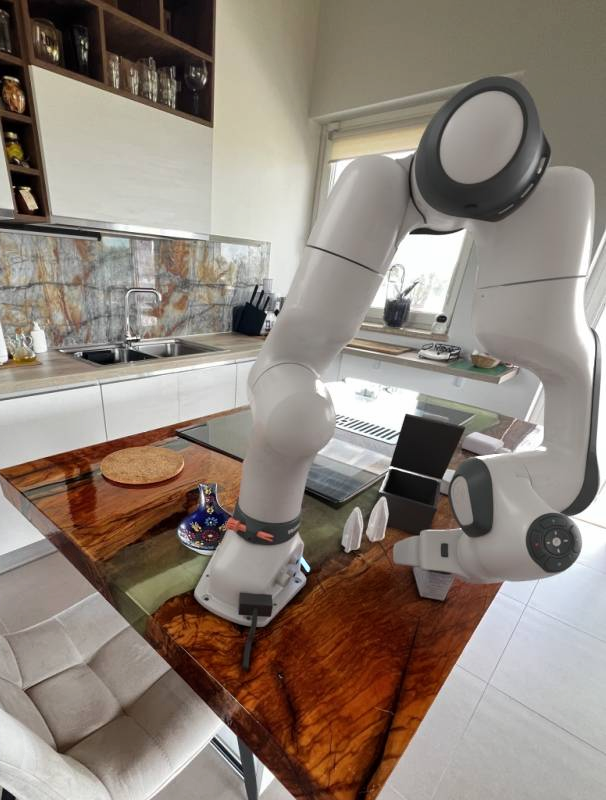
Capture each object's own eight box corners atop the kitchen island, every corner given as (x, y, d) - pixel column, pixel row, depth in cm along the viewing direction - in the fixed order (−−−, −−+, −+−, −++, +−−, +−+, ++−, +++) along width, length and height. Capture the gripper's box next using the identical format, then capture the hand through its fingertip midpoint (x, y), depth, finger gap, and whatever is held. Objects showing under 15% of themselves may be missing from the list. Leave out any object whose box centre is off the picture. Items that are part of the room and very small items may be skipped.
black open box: (425, 537, 94) (437, 508, 90) (370, 519, 99) (378, 491, 95) (430, 506, 106) (441, 480, 102) (381, 492, 111) (389, 466, 107)
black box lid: (465, 428, 89) (468, 416, 92) (405, 415, 94) (409, 403, 96) (441, 480, 102) (445, 467, 104) (389, 465, 106) (394, 454, 109)
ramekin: (434, 494, 112) (440, 480, 110) (429, 479, 120) (434, 466, 118) (469, 500, 111) (475, 486, 109) (461, 485, 118) (467, 472, 116)
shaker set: (376, 531, 95) (390, 489, 89) (389, 541, 92) (404, 499, 86) (334, 541, 90) (346, 498, 84) (346, 553, 87) (360, 509, 81)
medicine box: (443, 601, 77) (461, 566, 72) (418, 596, 77) (435, 561, 73) (434, 574, 83) (450, 540, 79) (411, 569, 84) (426, 535, 79)
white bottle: (506, 466, 133) (460, 448, 142) (516, 459, 138) (471, 443, 148) (513, 452, 131) (465, 436, 140) (523, 446, 136) (476, 430, 145)
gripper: (543, 542, 65) (489, 552, 79) (414, 528, 66) (382, 540, 79) (546, 582, 64) (490, 585, 77) (413, 568, 64) (381, 573, 78)
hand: (434, 562), depth 78 cm, fingers closed on medicine box, 5 cm apart
